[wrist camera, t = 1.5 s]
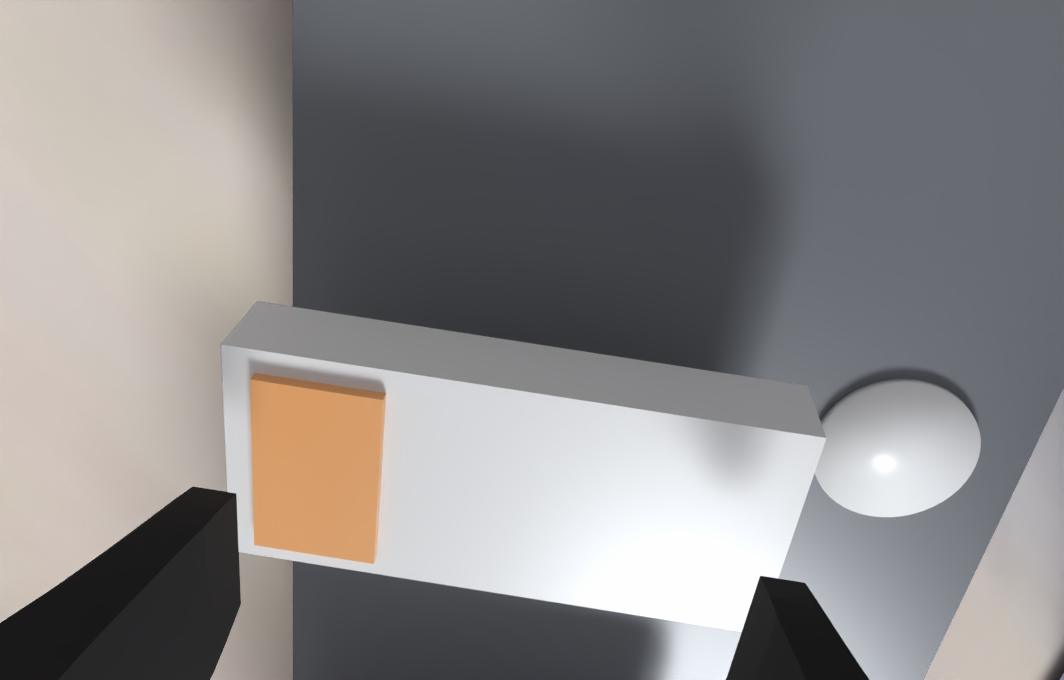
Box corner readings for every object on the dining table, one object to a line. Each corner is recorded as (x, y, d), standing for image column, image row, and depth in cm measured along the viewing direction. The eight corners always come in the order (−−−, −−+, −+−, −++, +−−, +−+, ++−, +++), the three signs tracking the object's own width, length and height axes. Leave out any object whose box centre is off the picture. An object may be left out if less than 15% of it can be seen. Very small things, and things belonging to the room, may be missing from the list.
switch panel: (1317, -440, 13) (1513, -527, 10) (798, 793, 26) (820, 905, 23) (358, -571, 13) (286, -692, 10) (326, 717, 26) (291, 819, 23)
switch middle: (807, 385, 14) (829, 445, 13) (747, 572, 16) (760, 643, 15) (257, 301, 15) (215, 350, 13) (261, 495, 16) (225, 558, 15)
